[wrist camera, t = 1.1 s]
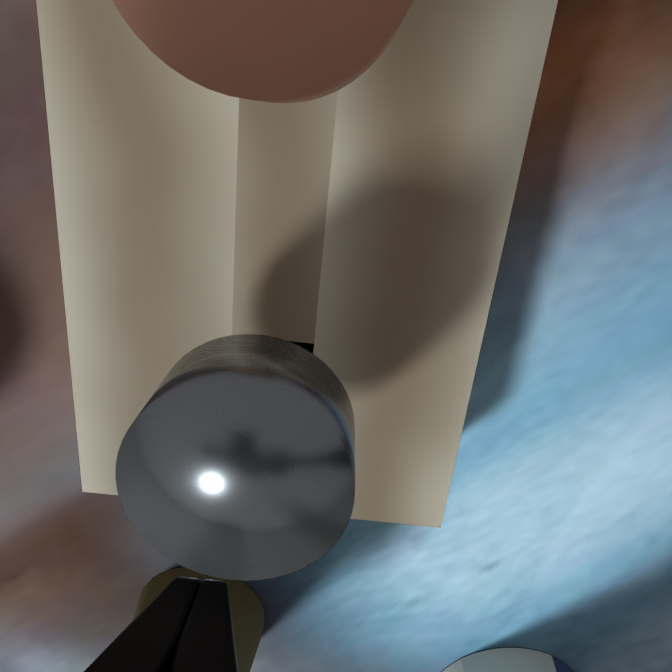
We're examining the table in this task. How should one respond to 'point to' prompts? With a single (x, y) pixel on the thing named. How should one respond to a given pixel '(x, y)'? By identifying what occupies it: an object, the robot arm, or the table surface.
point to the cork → (242, 603)
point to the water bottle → (508, 662)
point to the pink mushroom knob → (267, 42)
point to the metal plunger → (242, 460)
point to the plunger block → (293, 226)
